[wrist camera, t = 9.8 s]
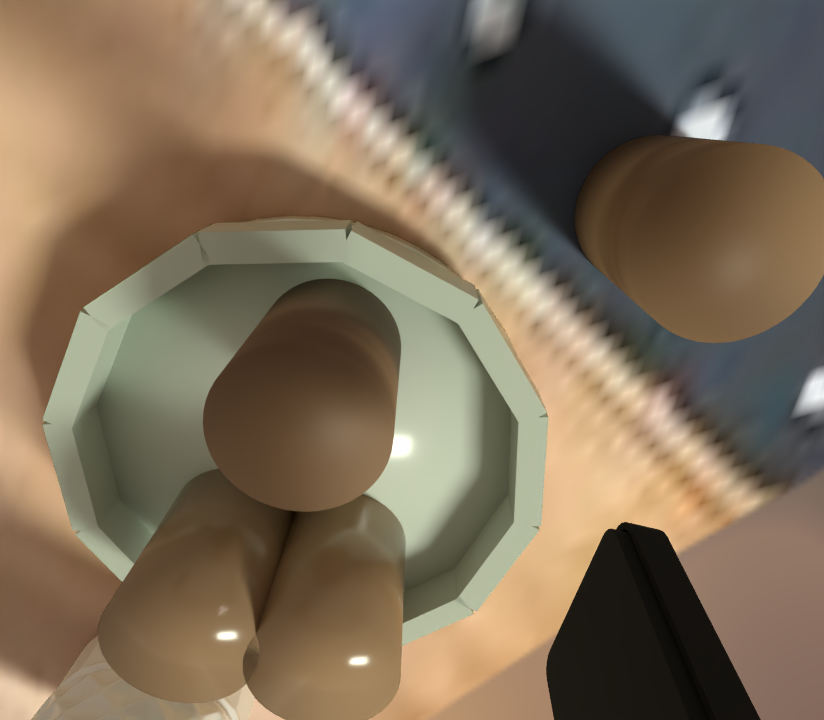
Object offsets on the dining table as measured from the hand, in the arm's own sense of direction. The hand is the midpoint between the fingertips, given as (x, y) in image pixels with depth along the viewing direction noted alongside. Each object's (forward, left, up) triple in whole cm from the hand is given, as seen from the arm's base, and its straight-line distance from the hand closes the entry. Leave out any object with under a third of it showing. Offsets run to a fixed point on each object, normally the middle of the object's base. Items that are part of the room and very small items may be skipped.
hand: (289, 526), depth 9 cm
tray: (+3, +3, -10) cm, 11 cm away
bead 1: (+1, 0, -9) cm, 9 cm away
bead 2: (-9, +2, -10) cm, 13 cm away
